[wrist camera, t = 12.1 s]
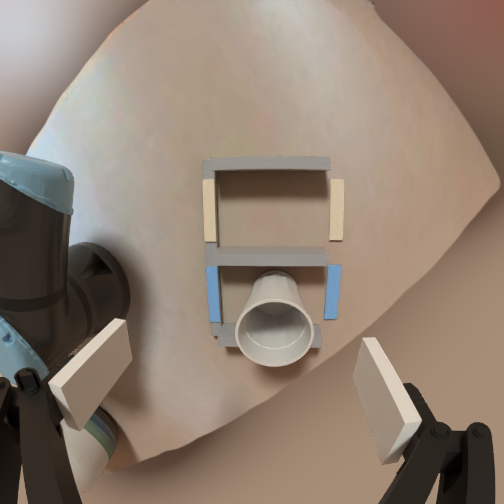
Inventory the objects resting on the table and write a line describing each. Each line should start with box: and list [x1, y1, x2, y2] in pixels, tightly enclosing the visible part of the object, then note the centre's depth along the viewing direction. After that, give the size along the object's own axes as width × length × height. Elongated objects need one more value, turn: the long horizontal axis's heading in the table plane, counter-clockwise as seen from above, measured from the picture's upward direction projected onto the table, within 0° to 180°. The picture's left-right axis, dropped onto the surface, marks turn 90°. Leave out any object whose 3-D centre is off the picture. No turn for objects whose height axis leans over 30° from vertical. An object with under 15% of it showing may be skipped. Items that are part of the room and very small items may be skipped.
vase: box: [60, 407, 118, 493], centre depth 39 cm, size 17×17×24 cm
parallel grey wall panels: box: [203, 156, 344, 348], centre depth 37 cm, size 18×24×4 cm
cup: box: [235, 270, 314, 367], centre depth 34 cm, size 8×8×12 cm
